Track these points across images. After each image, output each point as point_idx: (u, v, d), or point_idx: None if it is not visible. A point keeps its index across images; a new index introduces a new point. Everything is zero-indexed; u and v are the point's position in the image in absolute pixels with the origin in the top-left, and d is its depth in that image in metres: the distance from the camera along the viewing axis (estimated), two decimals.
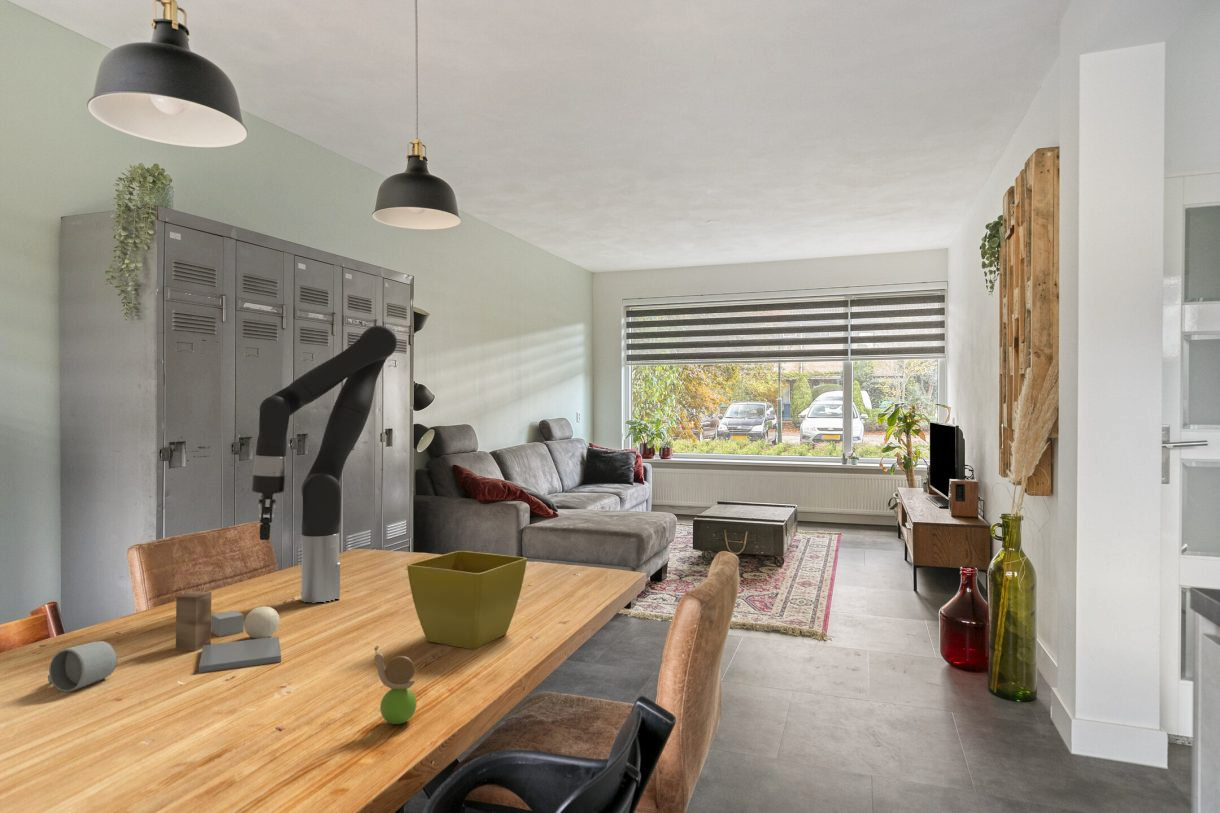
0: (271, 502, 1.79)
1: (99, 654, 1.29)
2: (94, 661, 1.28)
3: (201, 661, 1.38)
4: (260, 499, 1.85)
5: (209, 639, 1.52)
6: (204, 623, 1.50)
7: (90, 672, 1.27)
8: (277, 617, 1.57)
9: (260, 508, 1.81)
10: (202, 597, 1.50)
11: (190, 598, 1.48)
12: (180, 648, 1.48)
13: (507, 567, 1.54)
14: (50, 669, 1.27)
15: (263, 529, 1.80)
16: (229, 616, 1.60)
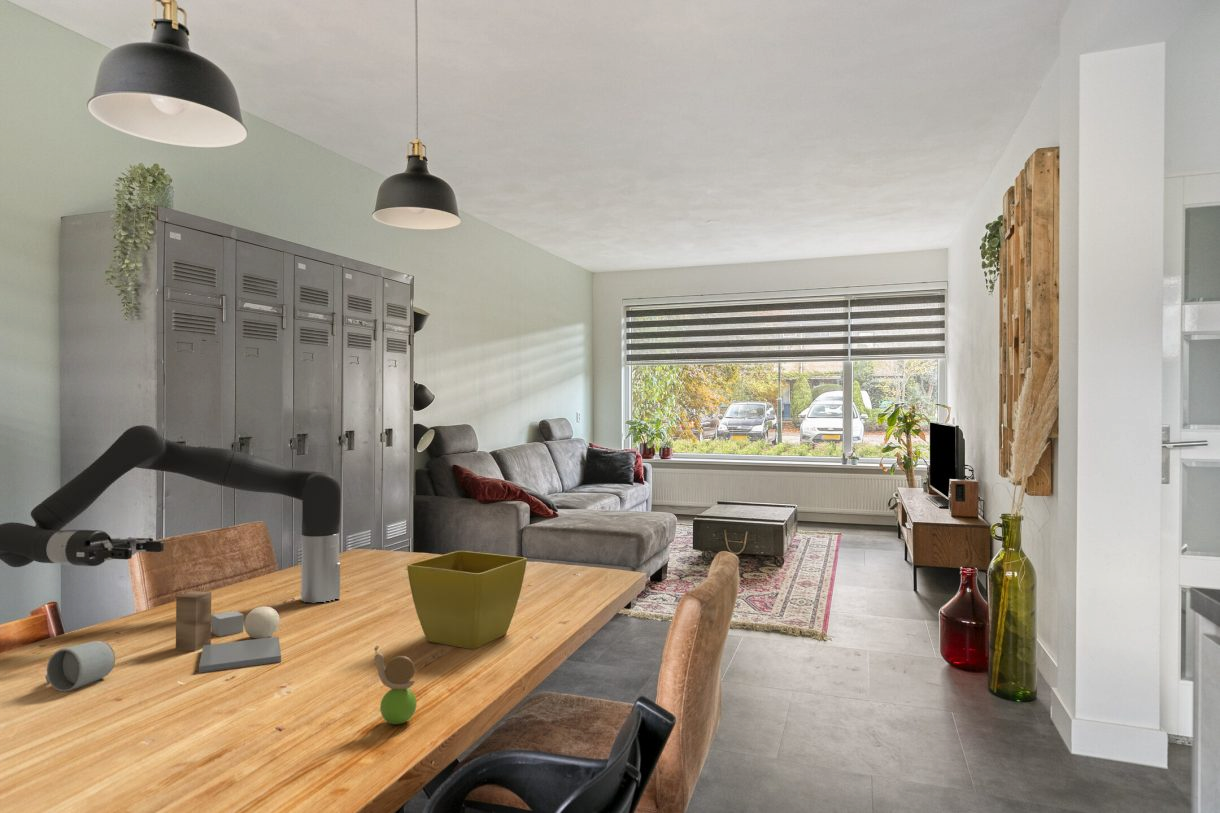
0: (78, 550, 1.47)
1: (97, 654, 1.29)
2: (92, 661, 1.28)
3: (201, 661, 1.38)
4: None
5: (209, 639, 1.52)
6: (204, 623, 1.50)
7: (88, 672, 1.27)
8: (277, 617, 1.57)
9: (102, 558, 1.51)
10: (202, 597, 1.50)
11: (190, 598, 1.48)
12: (180, 648, 1.48)
13: (507, 567, 1.54)
14: (48, 669, 1.27)
15: (114, 556, 1.48)
16: (229, 616, 1.60)
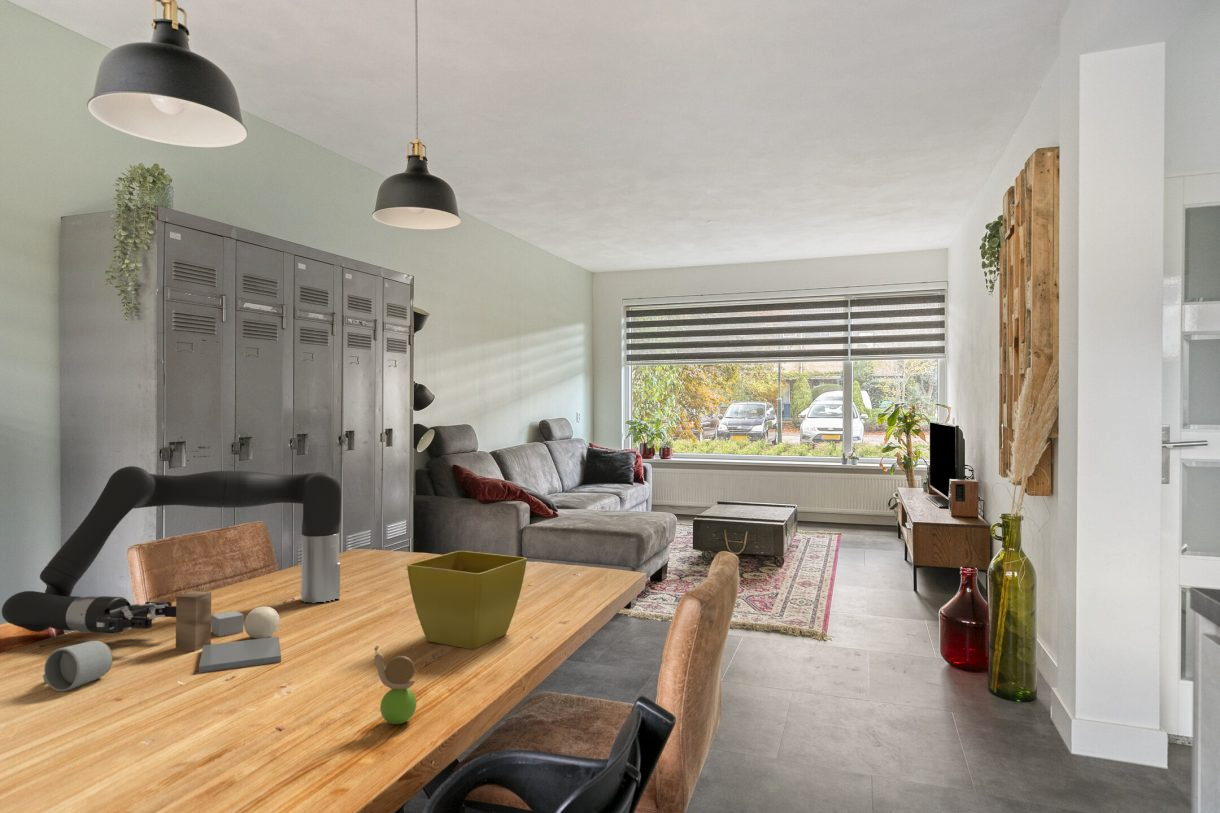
0: (98, 620, 1.46)
1: (95, 654, 1.29)
2: (89, 661, 1.28)
3: (201, 661, 1.38)
4: None
5: (209, 639, 1.52)
6: (204, 623, 1.50)
7: (85, 672, 1.27)
8: (277, 617, 1.57)
9: None
10: (202, 597, 1.50)
11: (190, 598, 1.48)
12: (180, 648, 1.48)
13: (507, 567, 1.54)
14: (45, 668, 1.27)
15: (134, 625, 1.47)
16: (229, 616, 1.60)
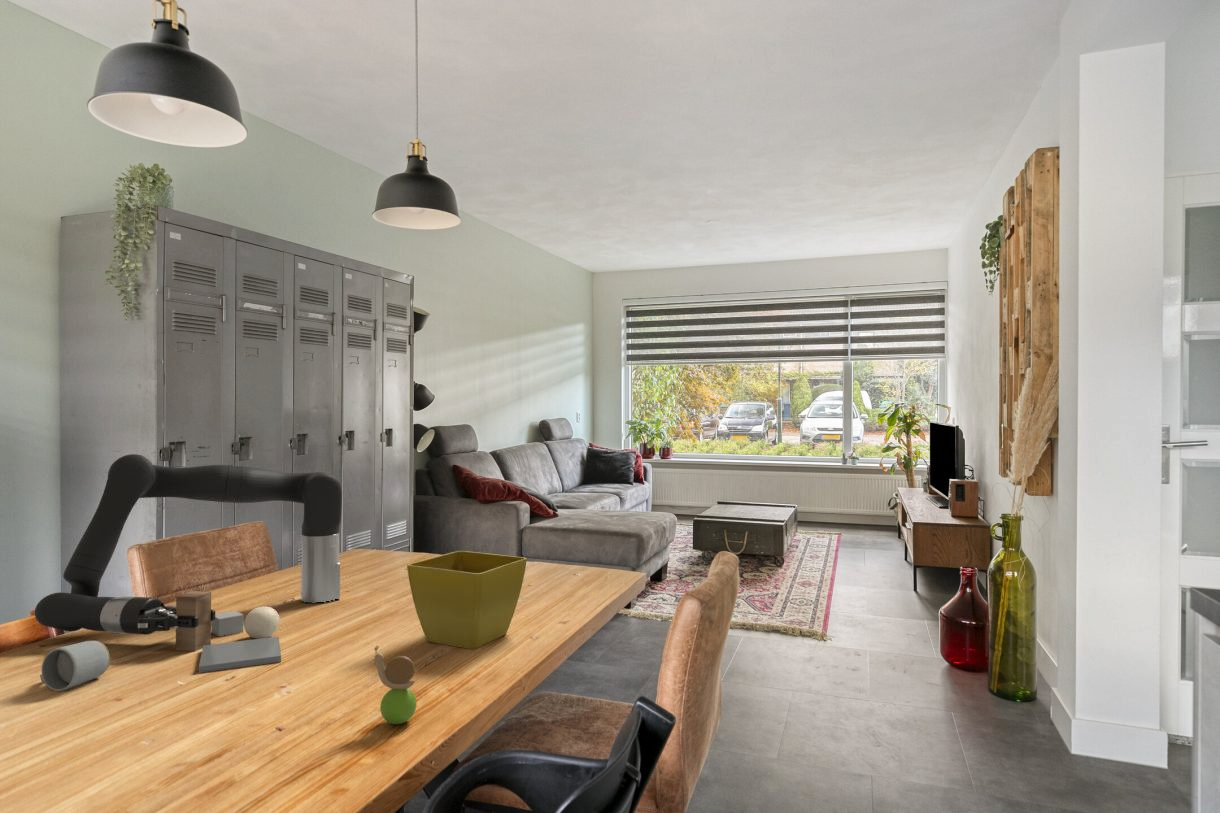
0: (141, 621, 1.45)
1: (92, 653, 1.29)
2: (86, 660, 1.28)
3: (201, 661, 1.38)
4: None
5: (209, 639, 1.52)
6: (204, 623, 1.50)
7: (82, 672, 1.27)
8: (277, 617, 1.57)
9: (162, 627, 1.49)
10: (202, 597, 1.50)
11: (190, 598, 1.48)
12: (180, 648, 1.48)
13: (507, 567, 1.54)
14: (42, 668, 1.27)
15: (181, 624, 1.47)
16: (229, 616, 1.60)
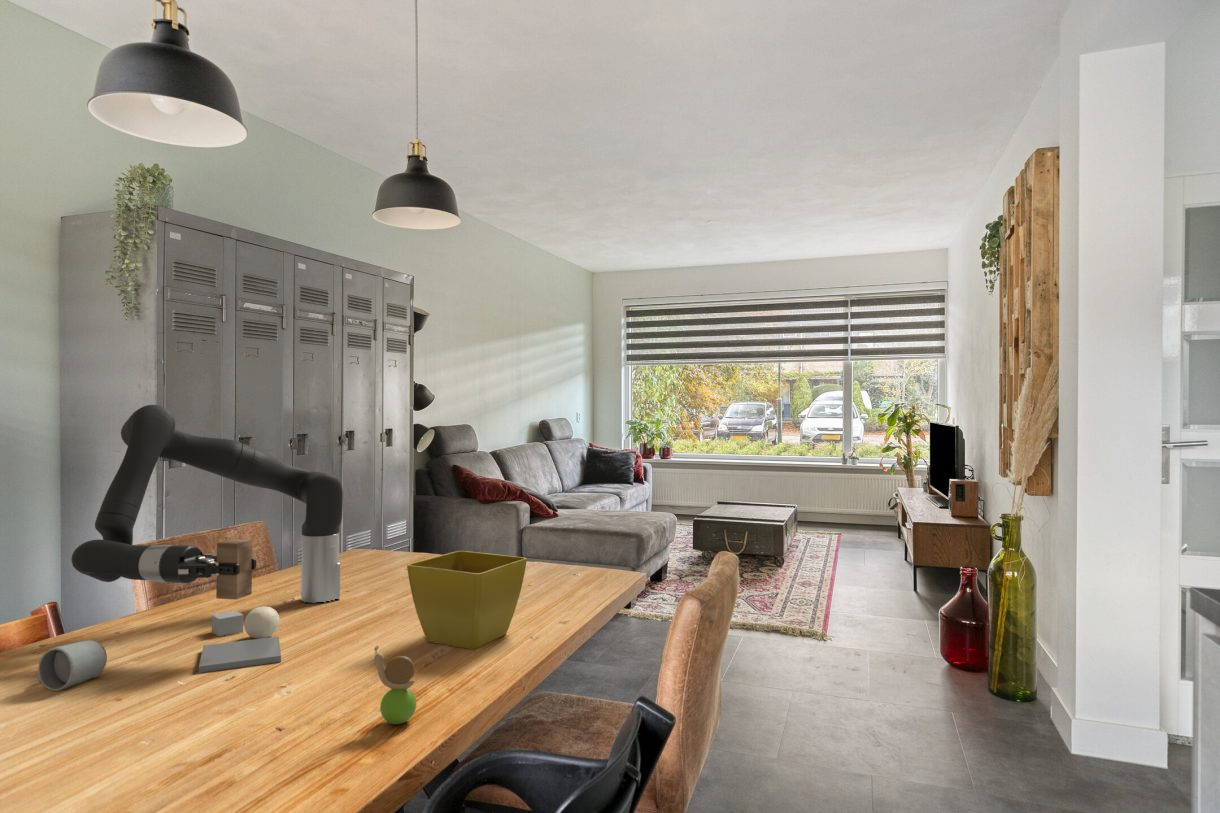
0: (181, 567, 1.40)
1: (88, 653, 1.30)
2: (83, 660, 1.28)
3: (201, 661, 1.38)
4: None
5: (250, 588, 1.47)
6: (245, 571, 1.45)
7: (79, 671, 1.27)
8: (277, 617, 1.57)
9: None
10: (243, 544, 1.45)
11: (231, 545, 1.43)
12: (221, 596, 1.43)
13: (507, 567, 1.54)
14: (39, 668, 1.27)
15: (222, 572, 1.42)
16: (229, 616, 1.60)
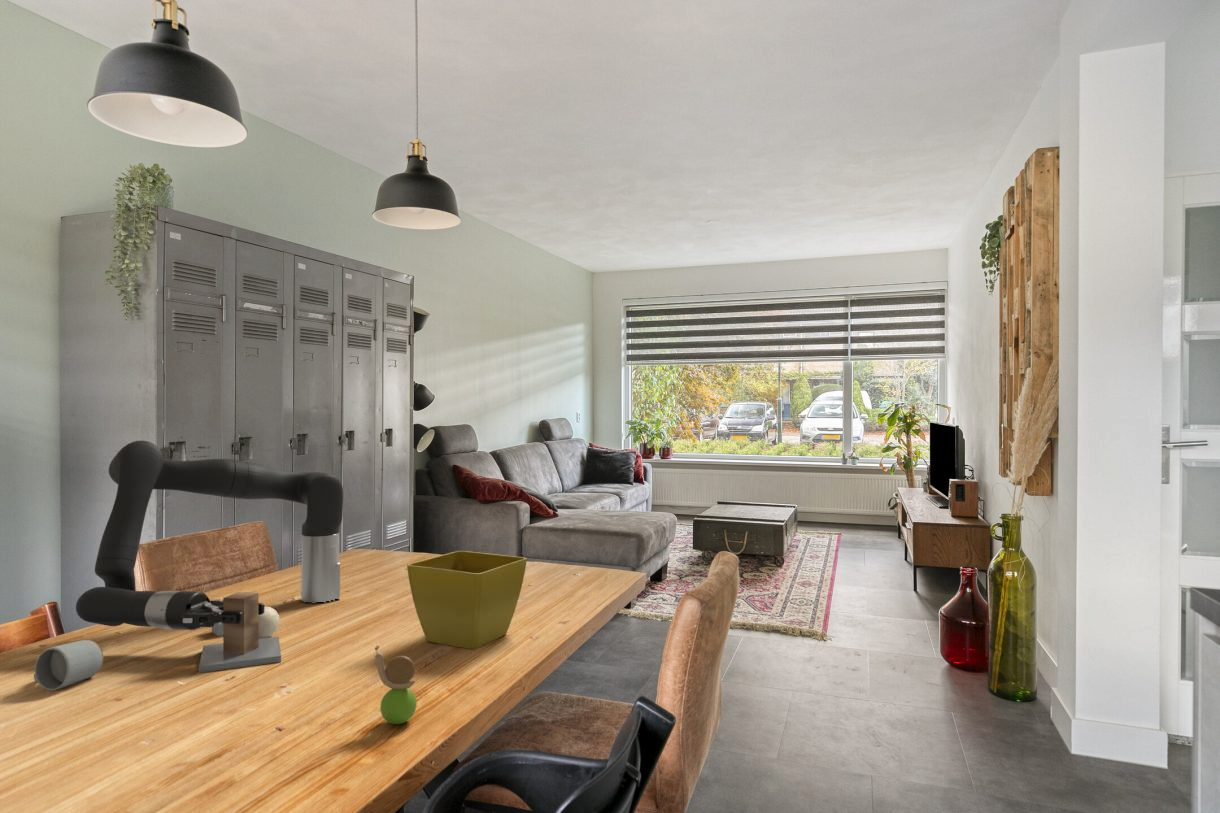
0: (185, 616, 1.39)
1: (85, 653, 1.30)
2: (79, 660, 1.28)
3: (201, 661, 1.38)
4: None
5: (257, 641, 1.46)
6: (252, 625, 1.44)
7: (75, 671, 1.27)
8: (277, 617, 1.57)
9: None
10: (250, 598, 1.44)
11: (238, 599, 1.42)
12: (228, 651, 1.43)
13: (507, 567, 1.54)
14: (36, 668, 1.27)
15: (226, 620, 1.40)
16: None
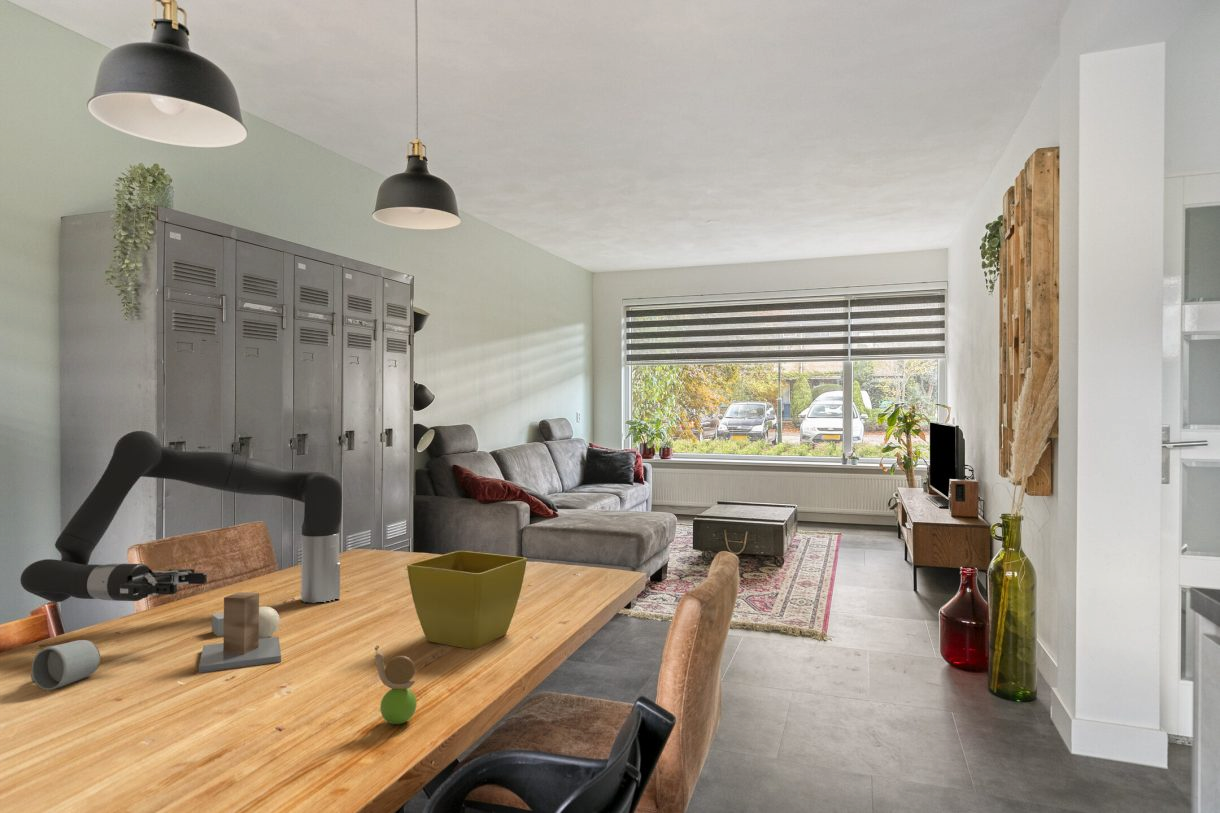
0: (122, 586, 1.42)
1: (82, 653, 1.30)
2: (76, 659, 1.28)
3: (201, 661, 1.38)
4: None
5: (257, 642, 1.46)
6: (252, 625, 1.45)
7: (72, 671, 1.27)
8: (277, 617, 1.57)
9: None
10: (250, 598, 1.44)
11: (238, 599, 1.42)
12: (228, 651, 1.43)
13: (507, 567, 1.54)
14: (32, 667, 1.28)
15: (159, 591, 1.43)
16: None
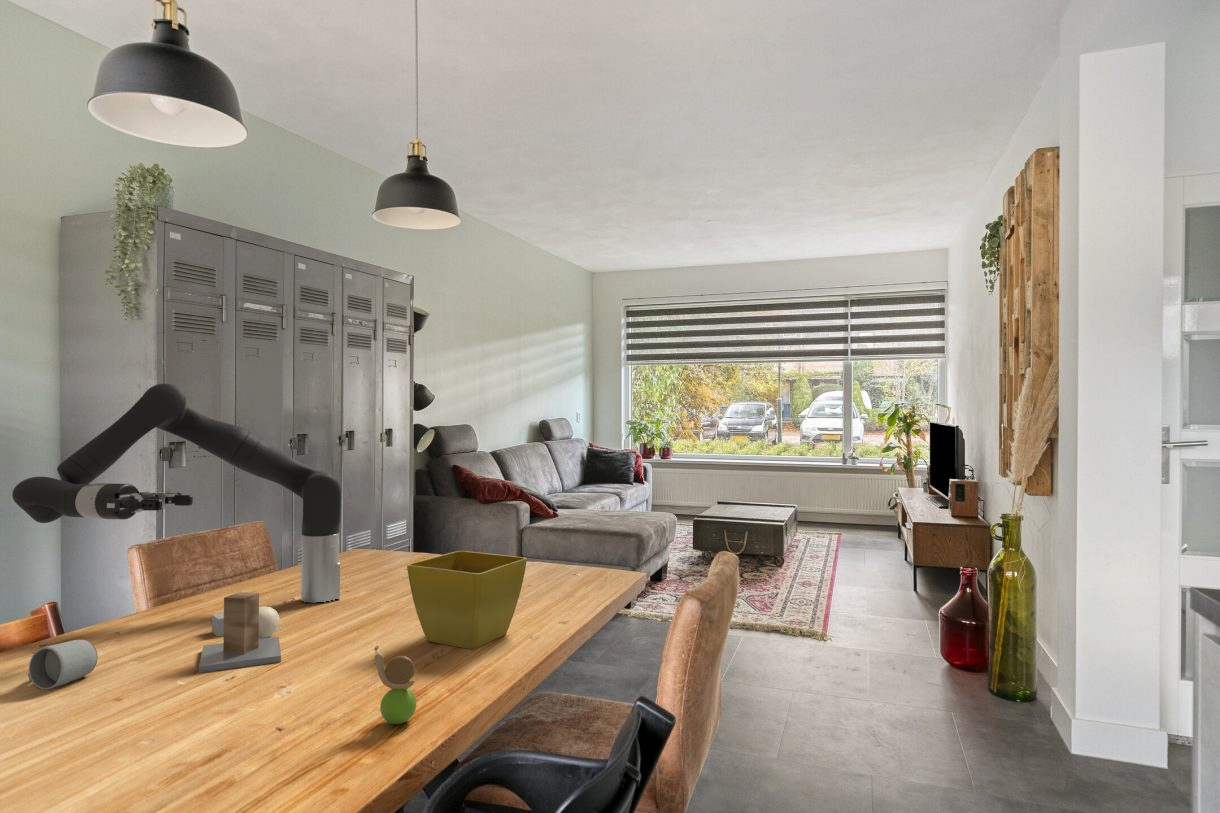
0: (109, 501, 1.46)
1: (79, 652, 1.30)
2: (73, 659, 1.28)
3: (201, 661, 1.38)
4: None
5: (257, 642, 1.46)
6: (252, 625, 1.45)
7: (69, 670, 1.28)
8: (277, 617, 1.57)
9: None
10: (250, 598, 1.44)
11: (238, 599, 1.42)
12: (228, 651, 1.43)
13: (507, 567, 1.54)
14: (30, 667, 1.28)
15: (145, 507, 1.46)
16: None
